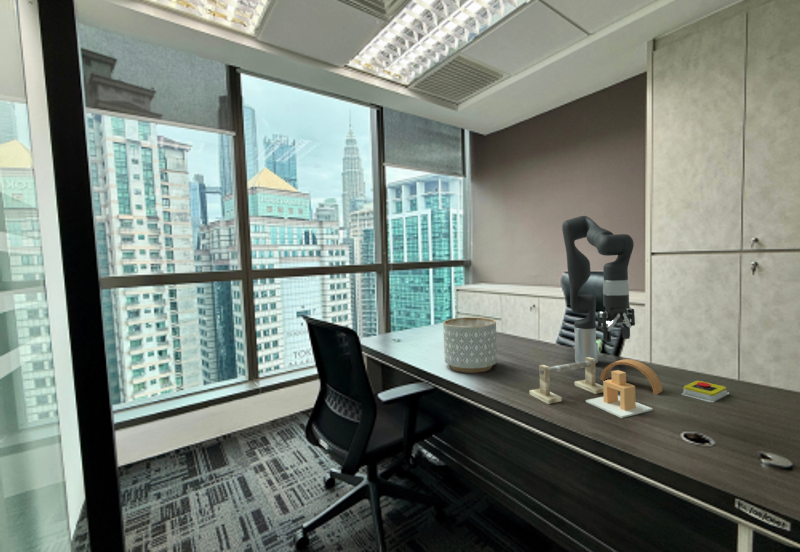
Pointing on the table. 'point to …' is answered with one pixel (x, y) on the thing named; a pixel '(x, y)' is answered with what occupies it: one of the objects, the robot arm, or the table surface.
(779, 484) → the table surface
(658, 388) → the arch
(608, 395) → the wooden bridge block
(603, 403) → the mat
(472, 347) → the planter
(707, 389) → the emergency button
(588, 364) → the rail stand
